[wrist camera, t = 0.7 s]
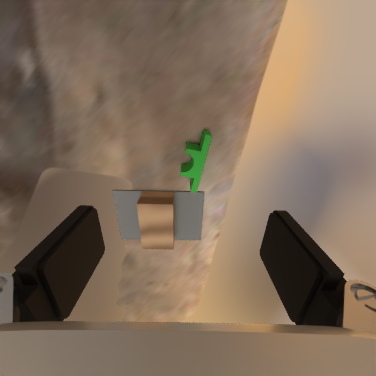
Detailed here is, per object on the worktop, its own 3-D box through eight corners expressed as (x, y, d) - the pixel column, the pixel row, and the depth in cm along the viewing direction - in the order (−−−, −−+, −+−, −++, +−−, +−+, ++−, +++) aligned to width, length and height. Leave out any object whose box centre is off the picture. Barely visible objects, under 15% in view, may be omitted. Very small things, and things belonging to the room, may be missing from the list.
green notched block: (189, 126, 33) (190, 130, 29) (209, 130, 34) (212, 135, 30) (178, 179, 39) (177, 189, 34) (195, 182, 39) (196, 193, 35)
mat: (112, 189, 39) (112, 190, 39) (204, 191, 40) (204, 192, 39) (122, 237, 46) (121, 238, 46) (200, 239, 46) (200, 240, 46)
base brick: (142, 191, 39) (136, 203, 35) (174, 191, 39) (172, 204, 35) (146, 233, 45) (142, 248, 40) (174, 233, 45) (173, 249, 40)
